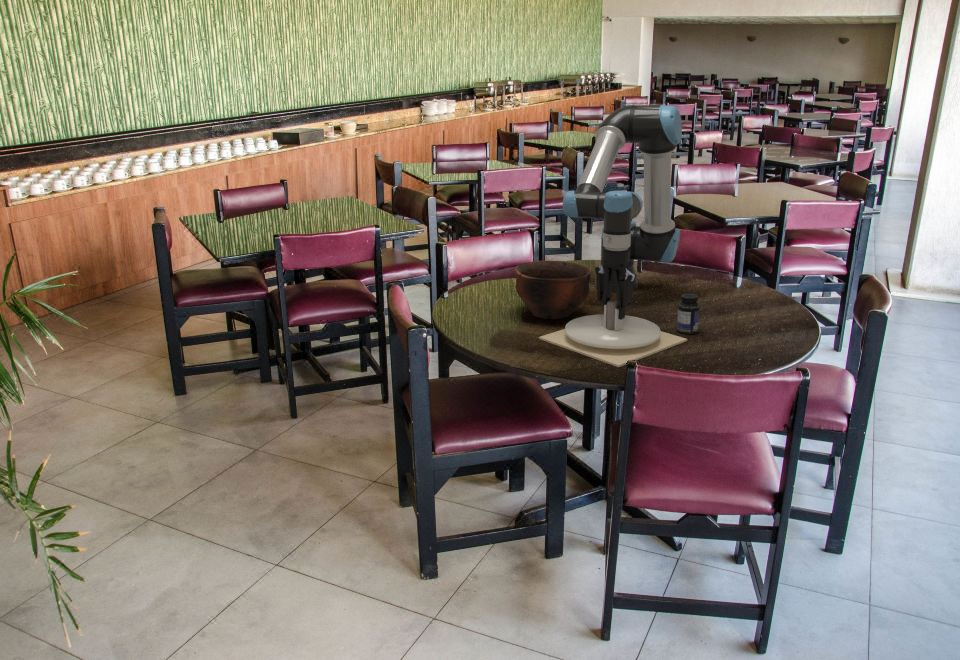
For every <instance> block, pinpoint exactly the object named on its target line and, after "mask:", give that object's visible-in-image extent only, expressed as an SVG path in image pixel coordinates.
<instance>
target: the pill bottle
mask: <svg viewBox="0 0 960 660" xmlns="http://www.w3.org/2000/svg"><path fill="white" fill-rule="evenodd" d="M698 300H699V295H697V294H693V293H684V294H682V295H681V297H680V301H681V302H679V303H678V307H677V319H676V320H677V321H676V331H677V332H679V333H680V334H683V335H695V334H696V333H698V332H699V320H700V304H699V303H698Z"/></svg>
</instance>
